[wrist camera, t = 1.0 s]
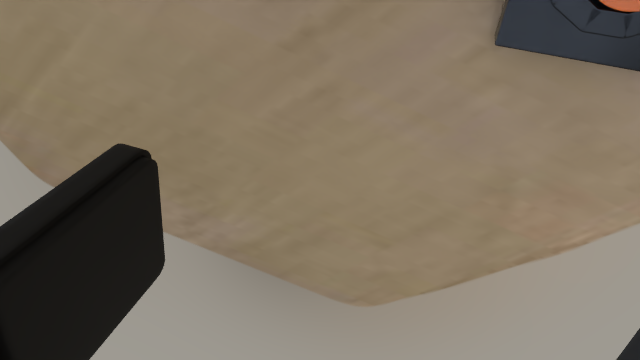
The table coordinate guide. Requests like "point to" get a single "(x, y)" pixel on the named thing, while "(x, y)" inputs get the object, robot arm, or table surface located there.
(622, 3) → the button
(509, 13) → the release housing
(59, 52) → the table surface
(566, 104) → the table surface
